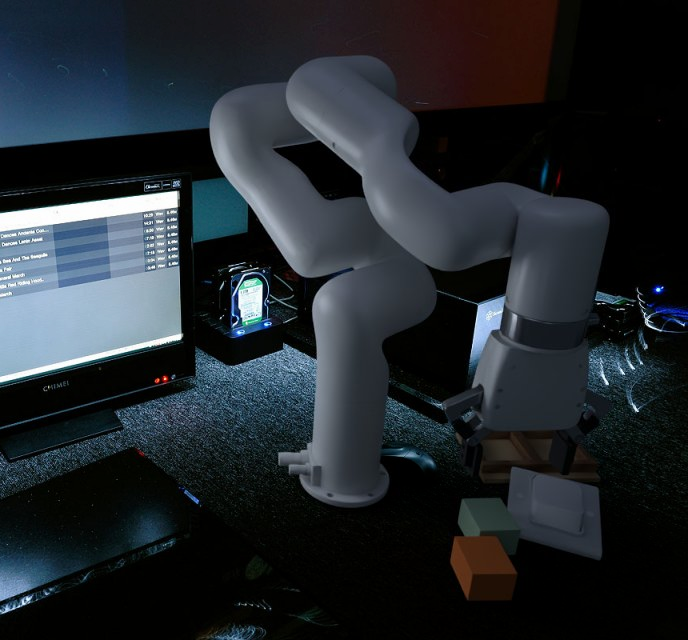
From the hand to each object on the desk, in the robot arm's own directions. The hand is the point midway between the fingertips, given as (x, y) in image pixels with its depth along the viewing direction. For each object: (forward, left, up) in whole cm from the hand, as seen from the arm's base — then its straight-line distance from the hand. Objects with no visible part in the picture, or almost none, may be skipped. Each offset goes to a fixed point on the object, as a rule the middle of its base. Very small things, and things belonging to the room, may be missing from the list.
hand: (513, 468), depth 72 cm
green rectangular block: (+2, +6, -16) cm, 17 cm away
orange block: (-2, -1, -16) cm, 16 cm away
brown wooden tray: (+14, +23, -16) cm, 31 cm away
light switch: (+12, +10, -15) cm, 22 cm away
